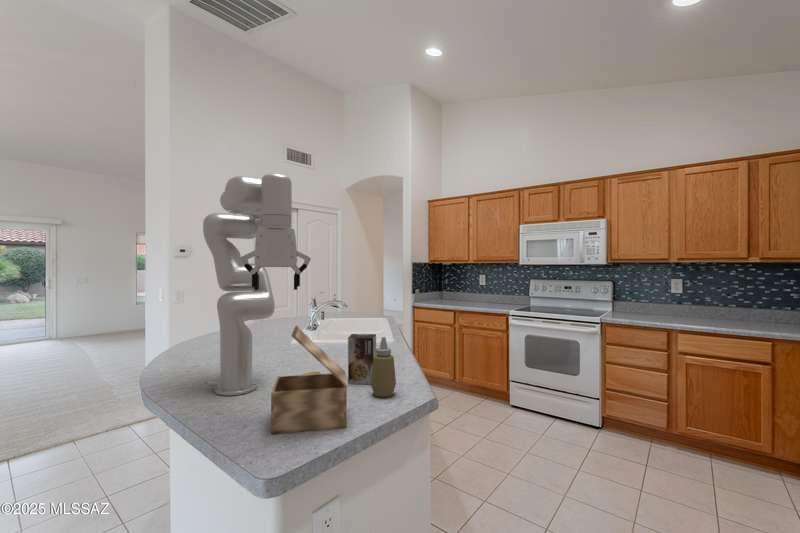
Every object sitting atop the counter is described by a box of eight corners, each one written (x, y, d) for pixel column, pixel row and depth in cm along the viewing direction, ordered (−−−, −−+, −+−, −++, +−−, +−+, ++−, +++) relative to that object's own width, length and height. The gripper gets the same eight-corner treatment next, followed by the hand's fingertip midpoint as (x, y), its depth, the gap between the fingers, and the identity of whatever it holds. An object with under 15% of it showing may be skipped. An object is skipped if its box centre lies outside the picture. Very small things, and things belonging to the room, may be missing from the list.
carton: (271, 434, 88) (271, 392, 88) (277, 412, 101) (277, 376, 101) (346, 427, 92) (346, 387, 92) (343, 407, 105) (343, 372, 105)
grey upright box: (376, 379, 131) (377, 333, 131) (373, 385, 124) (373, 337, 124) (351, 378, 132) (351, 333, 132) (347, 384, 125) (347, 336, 125)
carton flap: (291, 335, 89) (293, 334, 89) (294, 327, 102) (296, 325, 102) (346, 387, 92) (348, 385, 92) (343, 372, 105) (345, 371, 105)
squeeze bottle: (386, 401, 110) (387, 341, 110) (365, 395, 114) (365, 338, 114) (401, 393, 117) (401, 336, 117) (380, 388, 121) (380, 333, 121)
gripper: (237, 221, 89) (237, 291, 89) (310, 223, 93) (310, 290, 93) (243, 224, 97) (243, 289, 97) (311, 225, 101) (310, 288, 101)
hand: (276, 289), depth 95 cm, fingers open, 9 cm apart
